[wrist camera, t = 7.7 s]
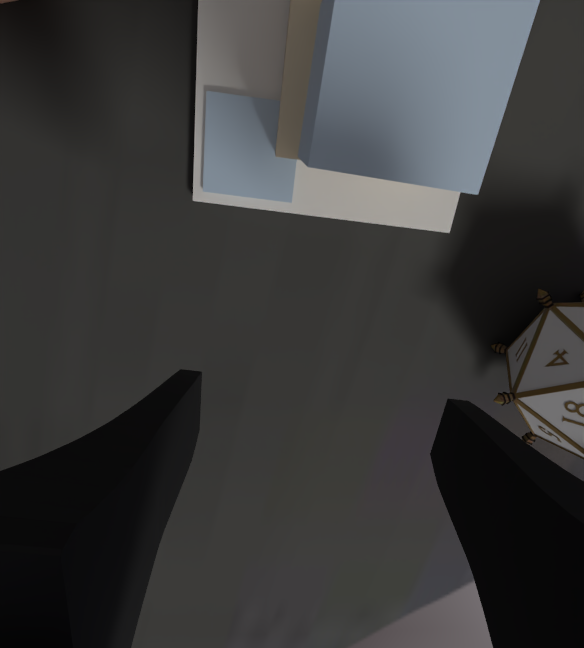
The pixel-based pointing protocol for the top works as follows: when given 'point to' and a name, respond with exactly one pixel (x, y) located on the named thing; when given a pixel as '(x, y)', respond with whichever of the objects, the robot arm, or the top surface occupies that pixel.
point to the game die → (549, 374)
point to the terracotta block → (5, 0)
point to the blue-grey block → (412, 87)
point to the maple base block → (296, 75)
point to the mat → (261, 132)
